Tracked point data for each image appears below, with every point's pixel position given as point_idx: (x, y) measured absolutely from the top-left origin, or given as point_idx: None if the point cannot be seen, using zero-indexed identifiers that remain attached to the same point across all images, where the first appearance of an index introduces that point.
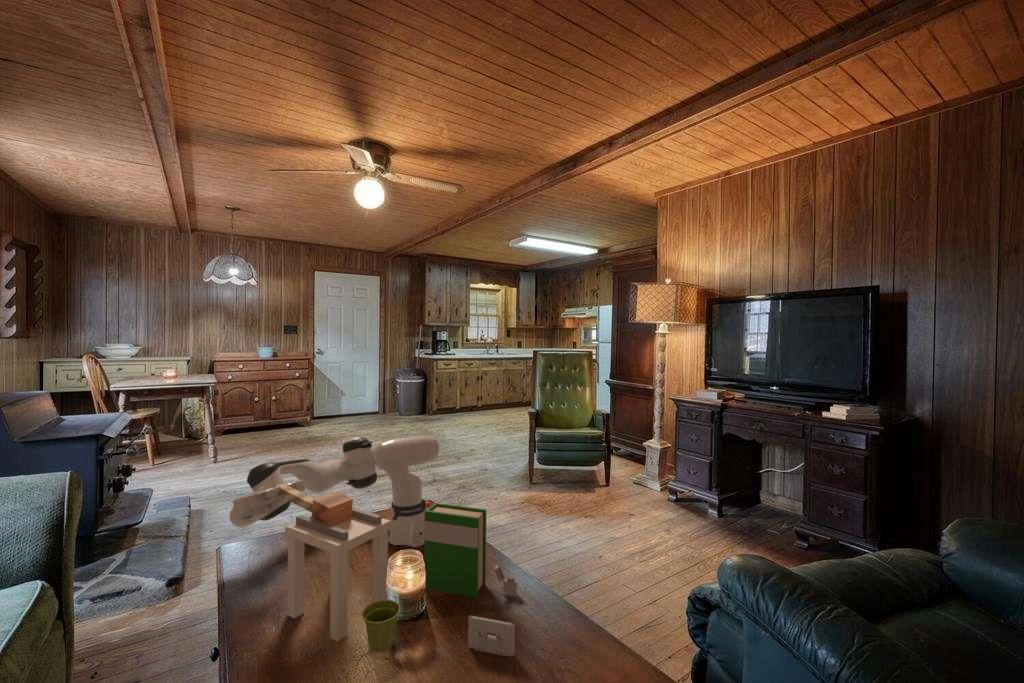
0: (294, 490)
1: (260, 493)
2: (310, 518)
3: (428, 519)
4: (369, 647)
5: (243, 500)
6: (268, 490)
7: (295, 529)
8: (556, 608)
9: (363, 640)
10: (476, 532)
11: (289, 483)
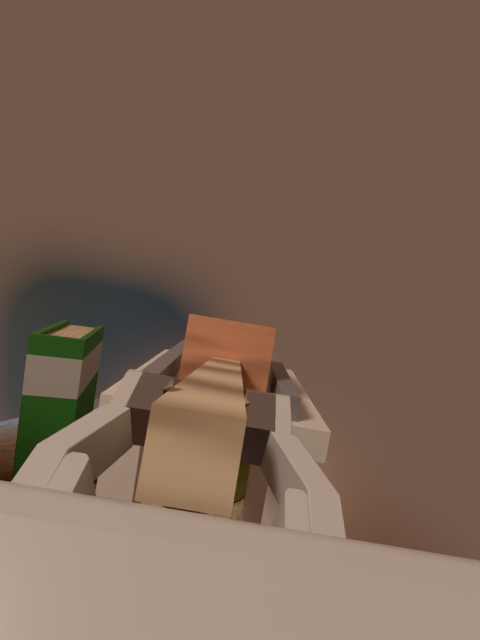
0: (201, 377)
1: (405, 552)
2: (277, 381)
3: (84, 354)
4: (242, 497)
5: None
6: (288, 530)
7: (316, 412)
8: (98, 401)
9: (233, 511)
10: (101, 346)
11: (149, 374)
